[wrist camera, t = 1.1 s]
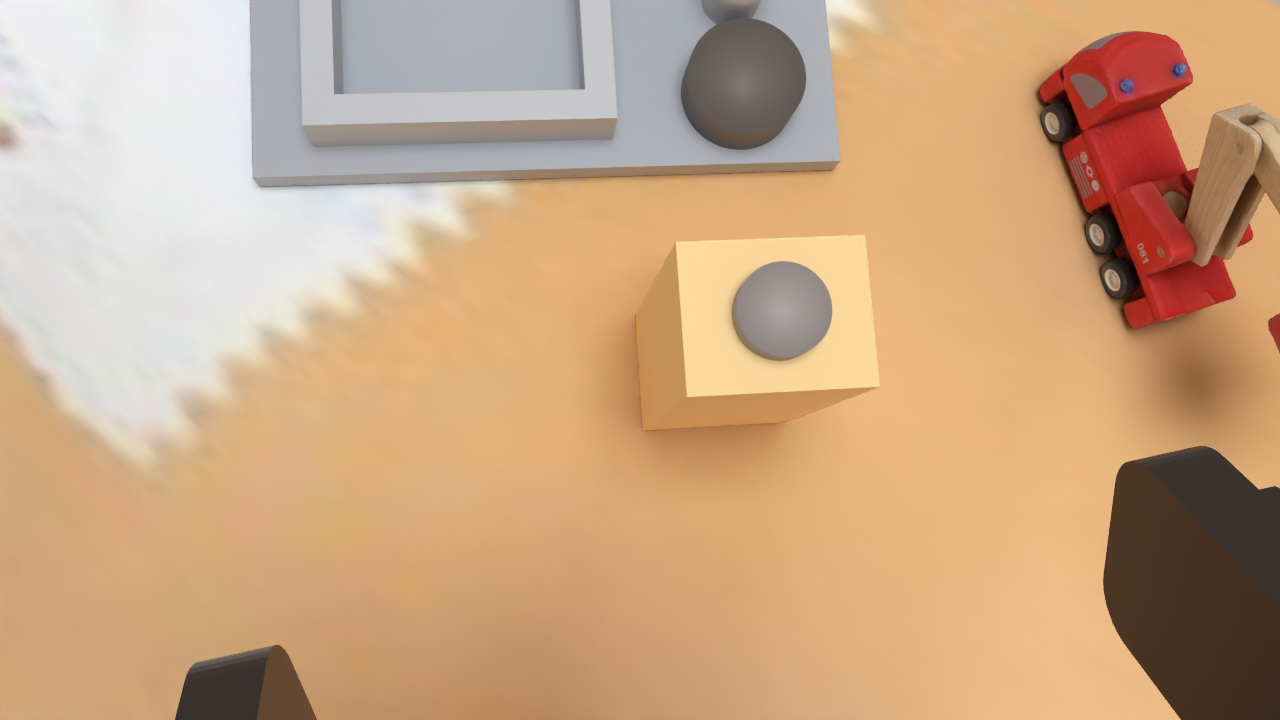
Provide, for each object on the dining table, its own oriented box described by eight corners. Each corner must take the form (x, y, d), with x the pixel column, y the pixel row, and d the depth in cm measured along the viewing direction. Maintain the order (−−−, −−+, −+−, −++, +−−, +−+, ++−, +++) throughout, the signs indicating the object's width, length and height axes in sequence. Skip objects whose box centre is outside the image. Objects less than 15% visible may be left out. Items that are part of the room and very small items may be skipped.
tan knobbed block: (642, 430, 37) (692, 393, 26) (634, 315, 37) (680, 233, 27) (785, 422, 37) (890, 382, 27) (776, 309, 38) (874, 226, 27)
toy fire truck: (1102, 59, 41) (1278, -81, 31) (1235, 402, 39) (1462, 365, 30) (1023, 81, 40) (1178, -54, 31) (1155, 430, 39) (1361, 401, 29)
